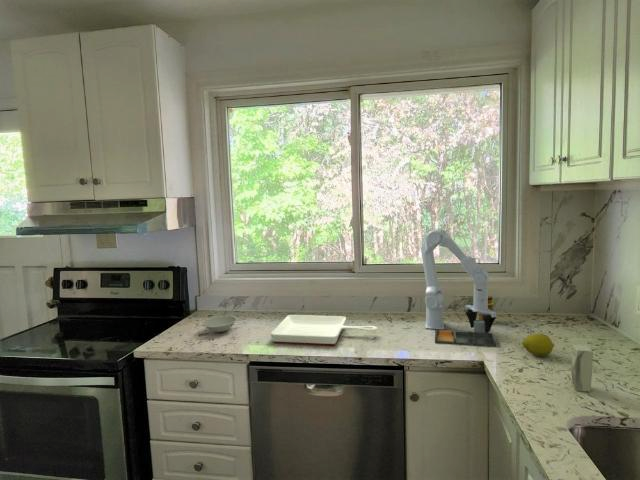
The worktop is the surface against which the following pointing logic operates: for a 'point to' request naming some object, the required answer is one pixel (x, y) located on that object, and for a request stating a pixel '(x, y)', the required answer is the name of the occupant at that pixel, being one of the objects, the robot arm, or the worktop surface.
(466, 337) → the tray
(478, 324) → the pale blue block
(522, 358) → the worktop surface
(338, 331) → the pan
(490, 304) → the condiment
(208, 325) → the dish
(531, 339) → the lemon
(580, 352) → the box
